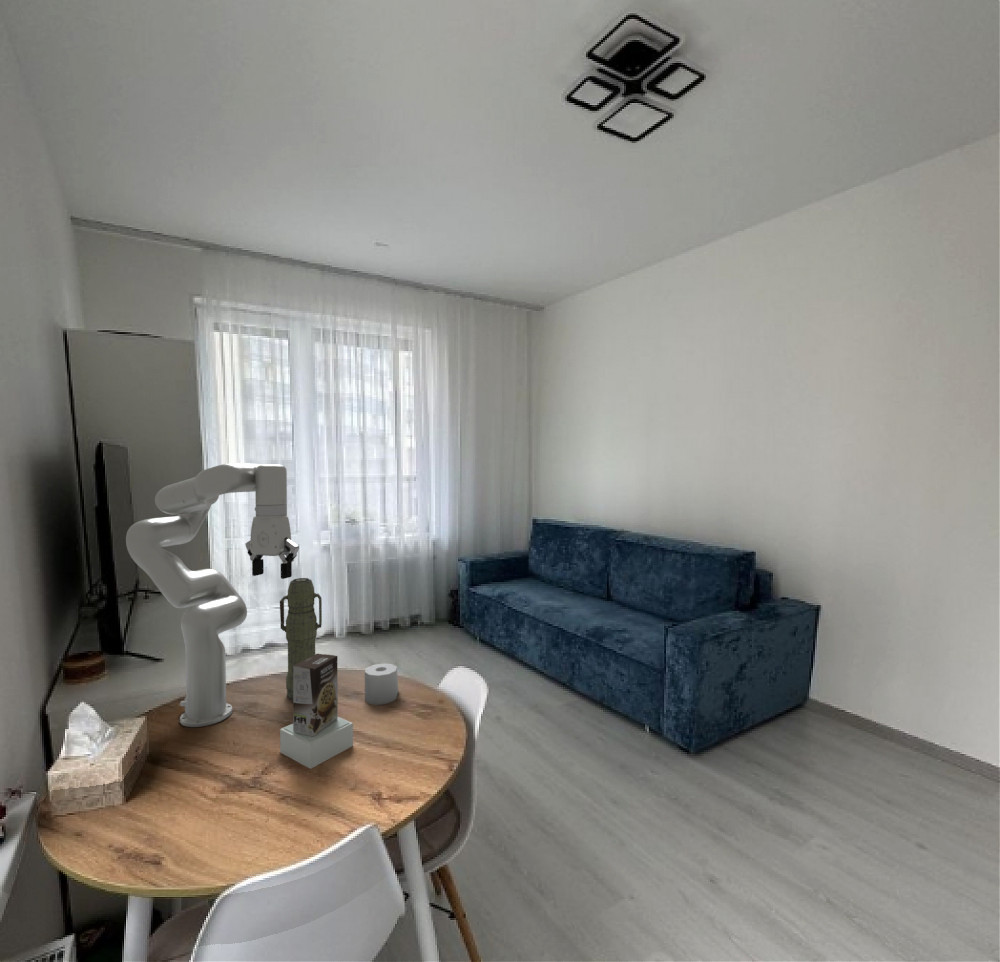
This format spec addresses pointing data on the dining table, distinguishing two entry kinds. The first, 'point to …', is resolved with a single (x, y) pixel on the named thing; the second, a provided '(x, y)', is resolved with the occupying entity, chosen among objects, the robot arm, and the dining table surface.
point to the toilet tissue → (381, 684)
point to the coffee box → (315, 694)
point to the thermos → (300, 625)
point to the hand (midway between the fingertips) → (271, 576)
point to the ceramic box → (316, 743)
